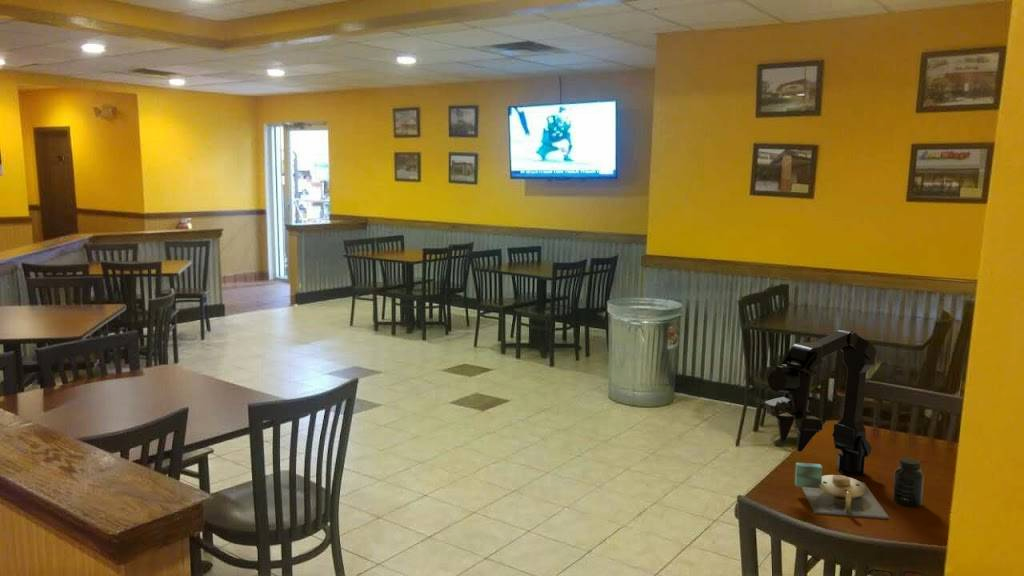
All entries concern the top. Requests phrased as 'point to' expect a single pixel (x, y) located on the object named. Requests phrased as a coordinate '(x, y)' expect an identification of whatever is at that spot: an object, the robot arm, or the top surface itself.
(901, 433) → the top surface
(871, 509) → the base
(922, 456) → the top surface
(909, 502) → the supplement bottle
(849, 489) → the flange
